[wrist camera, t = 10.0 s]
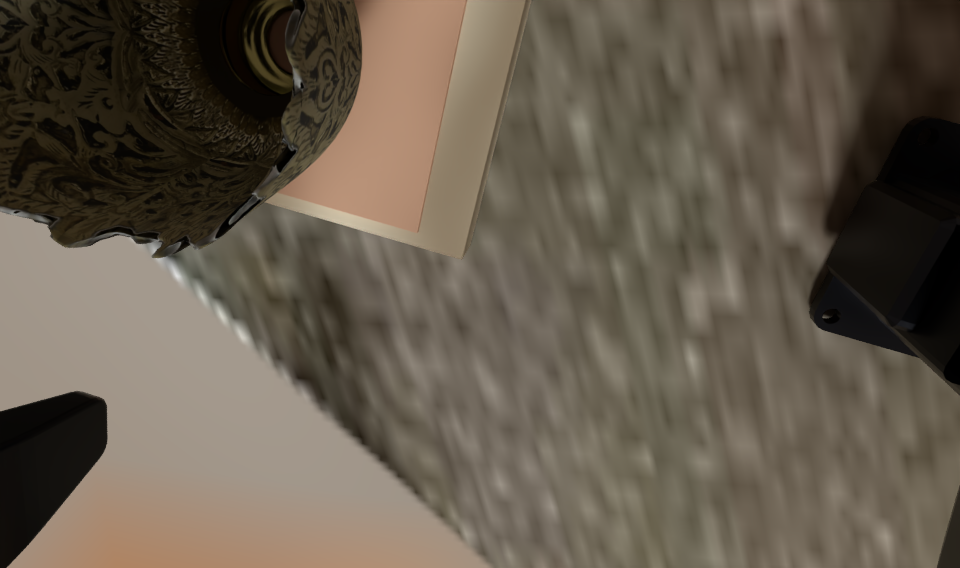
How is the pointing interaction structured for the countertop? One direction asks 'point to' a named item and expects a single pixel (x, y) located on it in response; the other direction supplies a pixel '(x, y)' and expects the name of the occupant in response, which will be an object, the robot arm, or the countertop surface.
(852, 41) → the countertop surface
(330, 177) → the cream shallow open box
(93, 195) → the dark brown rounded vessel
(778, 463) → the countertop surface
